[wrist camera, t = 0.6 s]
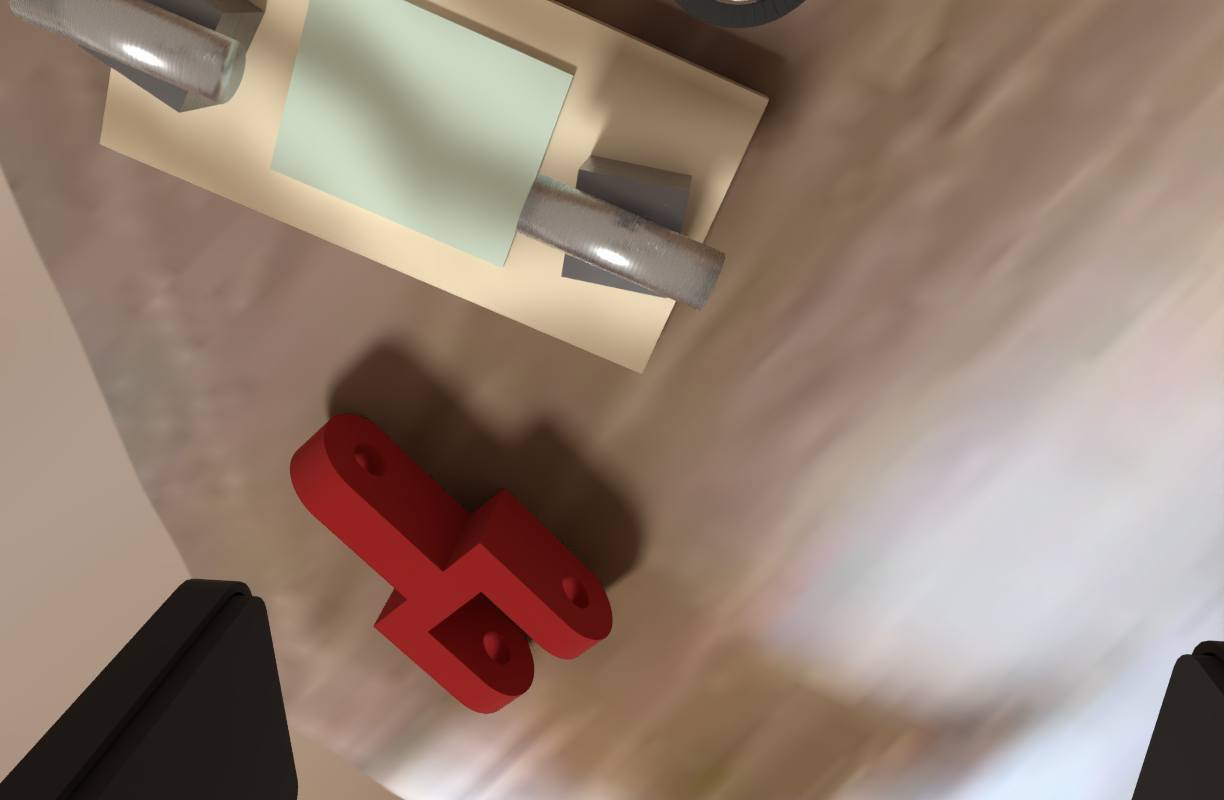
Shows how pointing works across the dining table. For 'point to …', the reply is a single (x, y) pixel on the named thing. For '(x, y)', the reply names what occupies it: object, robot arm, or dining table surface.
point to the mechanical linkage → (451, 566)
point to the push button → (739, 11)
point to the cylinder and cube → (553, 211)
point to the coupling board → (452, 143)
